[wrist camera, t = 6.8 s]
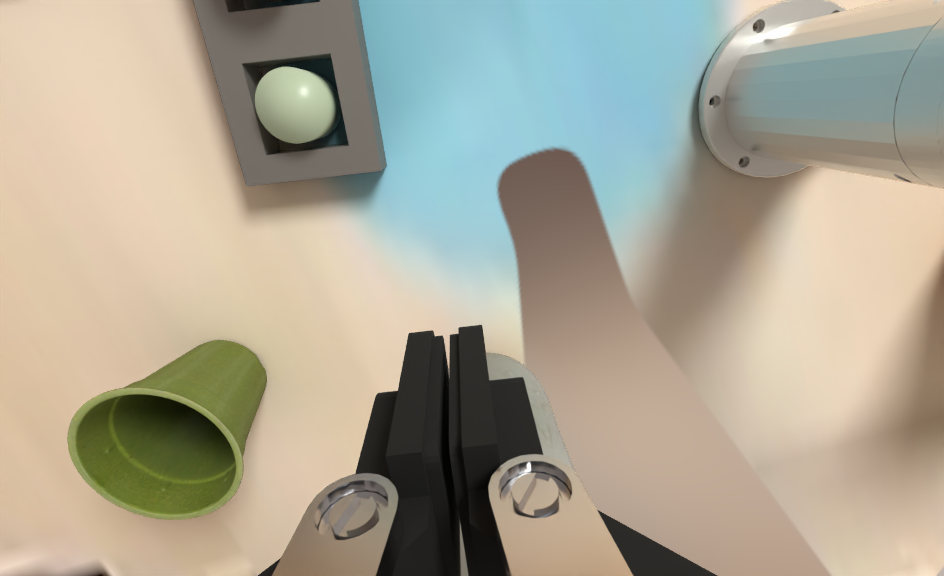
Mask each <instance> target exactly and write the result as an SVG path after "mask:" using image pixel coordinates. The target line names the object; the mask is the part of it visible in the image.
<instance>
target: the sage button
mask: <svg viewBox="0 0 944 576" xmlns="http://www.w3.org/2000/svg"><path fill="white" fill-rule="evenodd" d="M255 107H256V111H257V114H258V117H259V119H260V121H261V122H262V124H263V125H264V127H265V128H266V129H267V130H268V131H269V132H270V133H271V134H272V135H273V136H275V137H276V138H278V139H280V140H282V141H285V142H289V143H305V142H308V141H312V140H316V139H320V138H323V137H325V136H327V135H328V134H330V133H331V132H332V131H333V130H334V129H335V128H336V126H337V124H338V122H339V120H340V116H341V104H340V99H339V96H338V93H337V92H336V90H335V88H334V87H333V85H332V84H331V83H330V82H329V81H328V80H327V79H326V78H324V77H323V76H321V75H319V74H317V73H315V72H311V71H307V70H302V69H298V68H293V67H279V68H276V69H273V70H271V71H269V72H268V73H267V74H265V76H264V77H263V78H262V79H261V80H260V82H259V84H258V86H257V89H256V93H255Z"/></svg>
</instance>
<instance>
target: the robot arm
mask: <svg viewBox="0 0 944 576" xmlns="http://www.w3.org/2000/svg"><path fill="white" fill-rule="evenodd" d="M753 25H754V30H753ZM710 99H711V100H712V102H711V104H710V105H709V101H710ZM698 109H699V123H700V127H701V131H702V135H703V138H704V140H705V142H706V144H707V146H708V148H709V150H710V151H711V152H712V153H713V155H714V156H715V157H716V158H717V159H718V161H720V162H721V163H722V164H724V165H725V166H726V167H728V168H729V169H732V170H734V171H736V172H738V173H741V174H745V175H749V176H753V177H763V178H771V177H780V176H785V175H788V174H791V173H794V172H798V171H800V170H802V169H804V168H806V167H808V166H816V167H821V168H827V169H833V170H839V171H844V172H850V173H856V174H862V175H868V176H873V177H879V178H885V179H891V180H896V181H902V182H908V183H914V184H920V185H925V186H931V187H937V188H943V189H944V0H888V1H884V2H880V3H876V4H871V5H867V6H863V7H859V8H854V9H850V10H846V9H845V8H844V7H842V6H840V5H838V4H836V3H834V2H832V1H830V0H785V1H781V2H778V3H776V4H773V5H770V6H767V7H765V8H763V9H761V10H760V11H758V12H756V13H754V14H752V15H751V16H749V17H748V18H747V19H746V20H744V21H743V22H742V23H741V24H739V25H738V26H737V27H736V28H735V29H734V30H733V31H732V32H731V33H730V34H729V35H728V36H727V38H726V39H725V40H724V41H723V42H722V44H721V45H720V47H719V48H718V50H717V51H716V53H715V54H714V56H713V58H712V60H711V62H710V64H709V66H708V68H707V70H706V73H705V76H704V79H703V83H702V86H701V90H700V97H699V106H698ZM739 160H740V162H739ZM460 524H461V531H462V537H463V544H464V550H465V556H466V563H467V569H468V575H469V576H717V575H715V574H713V573H711V572H709V571H707V570H706V569H704V568H702V567H700V566H698V565H697V564H695V563H693V562H691V561H689V560H688V559H686V558H684V557H682V556H680V555H678V554H677V553H675V552H673V551H671V550H669V549H668V548H666V547H664V546H662V545H660V544H658V543H657V542H655V541H653V540H651V539H649V538H647V537H646V536H644V535H642V534H640V533H638V532H636V531H634V530H633V529H631V528H629V527H627V526H626V525H624V524H622V523H620V522H618V521H616V520H615V519H613V518H611V517H609V516H607V515H606V514H604V513H602V512H600V511H598V510H597V509H596V507H595V505H594V504H593V502H592V500H591V498H590V496H589V494H588V493H587V491H586V489H585V487H584V485H583V483H582V482H581V480H580V478H579V476H578V475H577V474H576V473H575V471H574V470H573V469H572V468H571V467H570V466H569V465H567V464H566V463H564V462H563V461H561V460H559V459H556V458H553V457H551V456H547V455H543V451H542V447H541V443H540V439H539V435H538V432H537V428H536V424H535V420H534V416H533V412H532V408H531V404H530V401H529V397H528V393H527V389H526V385H525V381H524V378H523V377H516V378H507V379H498V380H489V374H488V366H487V359H486V351H485V344H484V336H483V329H482V325H477V326H468V327H459V334H453V335H450V378H449V372H448V365H447V358H446V351H445V344H444V338H443V336H434V332H433V331H424V332H415V333H409V335H408V340H407V345H406V351H405V356H404V361H403V367H402V372H401V377H400V382H399V388H398V391H392V392H383V393H378V394H377V395H376V398H375V401H374V405H373V408H372V412H371V416H370V420H369V424H368V428H367V431H366V435H365V439H364V443H363V447H362V451H361V454H360V458H359V462H358V466H357V470H356V474H353V475H350V476H347V477H344V478H342V479H339V480H337V481H336V482H334V483H332V484H330V485H329V486H327V487H326V488H325V489H324V490H322V491H321V492H320V493H319V494H318V495H317V496H316V497H315V498H314V500H313V501H312V503H311V504H310V505H309V507H308V508H307V510H306V512H305V514H304V516H303V518H302V520H301V522H300V523H299V525H298V527H297V529H296V531H295V533H294V535H293V537H292V539H291V540H290V542H289V544H288V546H287V548H286V550H285V552H284V554H283V556H282V557H281V558H280V559H279V560H278V561H276V562H275V563H274V564H272V565H271V566H270V567H269V568H267V569H266V570H265V571H263V572H262V573H261V574H259V575H258V576H461V557H460Z"/></svg>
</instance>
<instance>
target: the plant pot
mask: <svg viewBox="0 0 944 576" xmlns="http://www.w3.org/2000/svg"><path fill="white" fill-rule="evenodd" d="M266 381H267V376H266V371H265V369H264V368H263V366H262V365H261V363H260V361H259V360H258V358H257V356H256V355H255V354H254V353H253V352H252V351H250V350H249V349H247V348H246V347H244V346H242V345H240V344H238V343H234V342H230V341H224V340H215V341H211V342H207V343H204V344H202V345H199V346H197V347H196V348H194V349H192V350H191V351H189V352H188V353H186V354H184V355H183V356H181V357H179V358H178V359H176V360H174V361H173V362H171V363H169V364H168V365H166V366H164V367H163V368H161V369H159V370H158V371H156V372H155V373H153V374H151V375H150V376H148V377H146V378H145V379H143V380H141V381H137V382H134V383H132V384H130V385H128V386H126V387H124V388H121V389H115V390H111V391H108V392H105V393H102V394H100V395H98V396H96V397H94V398H92V399H91V400H89V401H88V402H86V403H85V404H84V405H83V406H82V407H81V408H80V409H79V410H78V411H77V412H76V414H75V415H74V417H73V419H72V421H71V423H70V426H69V430H68V437H67V441H68V445H69V452H70V456H71V459H72V461H73V463H74V465H75V467H76V469H77V470H78V472H79V474H80V475H81V476H82V478H83V479H84V480H85V481H86V483H88V484H89V485H90V486H91V487H92V488H93V489H94V490H95V491H96V492H97V493H98V494H100V495H101V496H102V497H104V498H105V499H107V500H108V501H110V502H111V503H113V504H115V505H117V506H119V507H122V508H124V509H126V510H128V511H130V512H133V513H135V514H139V515H143V516H146V517H150V518H156V519H167V520H170V519H171V520H182V519H190V518H195V517H199V516H203V515H206V514H208V513H211V512H213V511H215V510H217V509H219V508H220V507H221V506H223V505H224V504H225V503H227V502H228V501H229V500H230V499H231V498H232V497H233V496H234V494H235V493H236V491H237V489H238V488H239V485H240V483H241V480H242V476H243V455H244V450H245V442H246V439H247V436H248V433H249V431H250V428H251V425H252V422H253V420H254V417H255V414H256V412H257V409H258V406H259V403H260V401H261V398H262V395H263V392H264V390H265V387H266Z"/></svg>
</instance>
